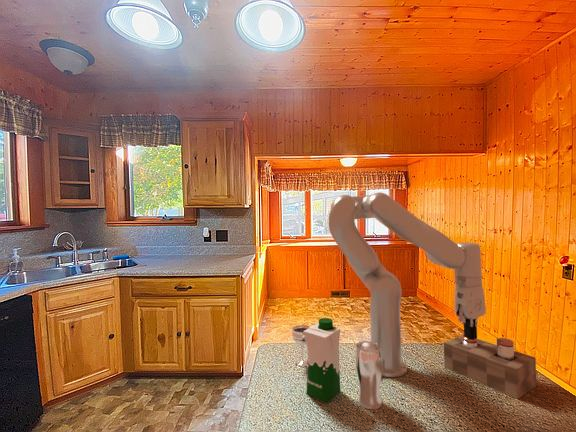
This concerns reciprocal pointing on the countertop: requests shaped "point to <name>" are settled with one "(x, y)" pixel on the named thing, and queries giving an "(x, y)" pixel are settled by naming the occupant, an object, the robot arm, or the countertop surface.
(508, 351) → the peg right
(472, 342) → the peg left
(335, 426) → the countertop surface
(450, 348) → the tan checkered block
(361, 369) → the beer glass
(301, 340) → the wineglass
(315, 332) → the milk carton
